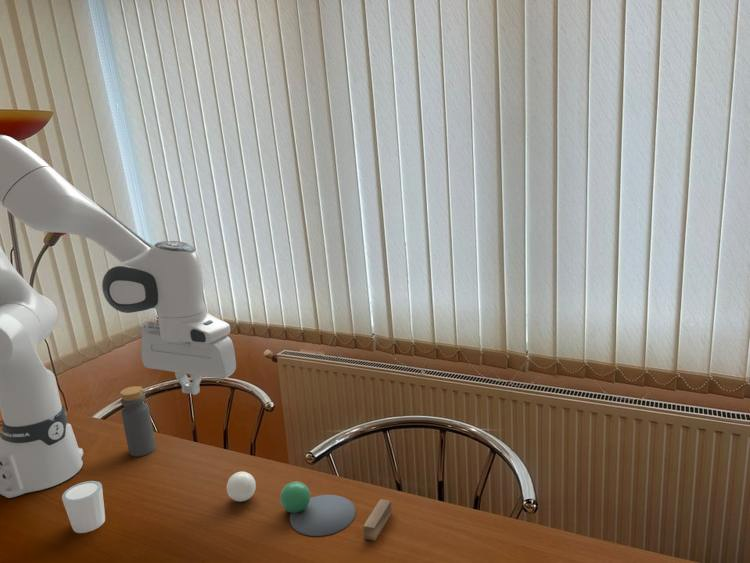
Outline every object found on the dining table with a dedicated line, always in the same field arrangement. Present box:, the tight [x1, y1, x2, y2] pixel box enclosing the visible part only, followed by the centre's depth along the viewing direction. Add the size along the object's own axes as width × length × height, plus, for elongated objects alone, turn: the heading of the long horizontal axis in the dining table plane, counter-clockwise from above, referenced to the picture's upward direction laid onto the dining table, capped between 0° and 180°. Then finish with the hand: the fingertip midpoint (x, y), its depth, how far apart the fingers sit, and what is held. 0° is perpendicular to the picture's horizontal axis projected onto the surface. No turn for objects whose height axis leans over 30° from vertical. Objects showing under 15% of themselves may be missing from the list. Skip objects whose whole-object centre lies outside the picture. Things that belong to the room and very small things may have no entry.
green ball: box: [279, 481, 311, 514], centre depth 113 cm, size 6×6×6 cm
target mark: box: [289, 494, 356, 537], centre depth 111 cm, size 12×12×1 cm
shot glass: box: [61, 480, 106, 534], centre depth 114 cm, size 7×7×7 cm
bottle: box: [120, 385, 157, 457], centre depth 139 cm, size 6×6×15 cm
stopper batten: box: [362, 498, 393, 542], centre depth 107 cm, size 2×8×2 cm, turn 158°
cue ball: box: [226, 471, 257, 503], centre depth 118 cm, size 6×6×6 cm
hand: (191, 392), depth 120 cm, fingers closed
